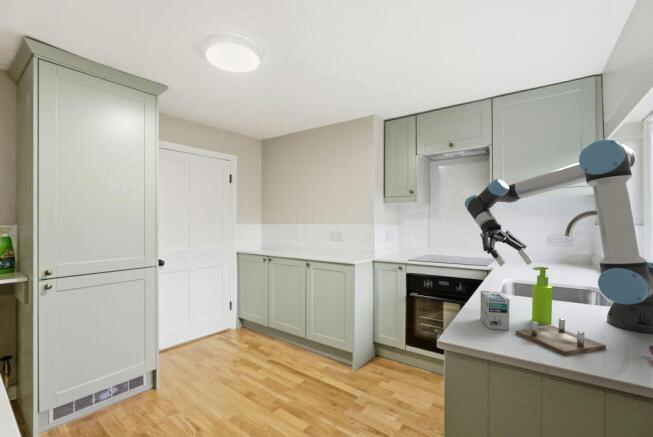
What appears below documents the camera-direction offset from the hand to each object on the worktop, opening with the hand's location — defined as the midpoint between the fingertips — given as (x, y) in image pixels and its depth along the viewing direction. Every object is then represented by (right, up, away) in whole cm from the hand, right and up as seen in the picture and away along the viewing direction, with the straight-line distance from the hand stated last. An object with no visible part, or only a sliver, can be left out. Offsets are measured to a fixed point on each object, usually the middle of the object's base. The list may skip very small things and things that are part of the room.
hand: (516, 263), depth 124 cm
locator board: (-4, -20, -27) cm, 34 cm away
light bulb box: (-16, -20, -13) cm, 29 cm away
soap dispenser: (+3, -20, -10) cm, 22 cm away
